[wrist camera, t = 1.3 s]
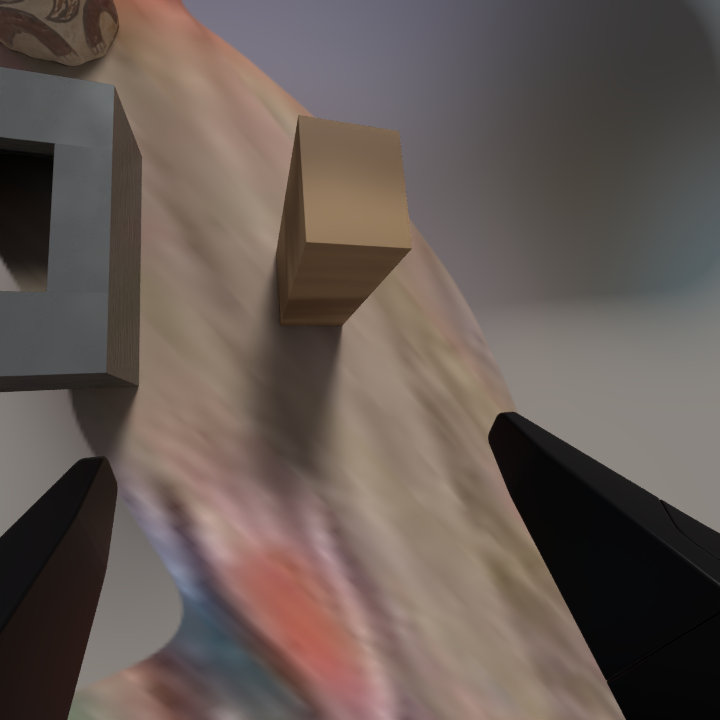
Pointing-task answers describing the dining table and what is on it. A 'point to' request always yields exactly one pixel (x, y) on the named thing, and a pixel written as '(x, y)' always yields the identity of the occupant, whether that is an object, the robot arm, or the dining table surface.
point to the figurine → (59, 28)
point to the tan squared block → (339, 220)
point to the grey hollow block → (75, 237)
